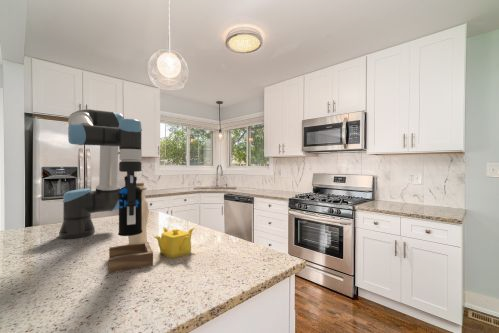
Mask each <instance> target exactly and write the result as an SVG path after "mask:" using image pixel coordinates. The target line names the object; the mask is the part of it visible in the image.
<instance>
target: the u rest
mask: <svg viewBox="0 0 499 333" xmlns="http://www.w3.org/2000/svg"><path fill="white" fill-rule="evenodd" d="M108 249H109V252H108V253H109V255H108V257H109V258H108V274H113V273H117V272H123V271H129V270H134V269H139V268H144V267H149V266H154V251H153V250H152V247H151V245H150V242H149V241H147V242H144V243H137V244H130V245H129V244H123V245H117V246H110V247H109V248H108Z"/></svg>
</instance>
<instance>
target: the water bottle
mask: <svg viewBox="0 0 499 333" xmlns="http://www.w3.org/2000/svg"><path fill="white" fill-rule="evenodd" d="M136 186H137V187H139V188H140V189H141V190H142V233H140V234H137V235H133V236H127V237H128V245H130V244H137V243H144V242H148V236H147V234H148V232H147V225H148V220H149V214H150V213H149V212H150V209H149V208H150V207H149V203H148V201H147V199H146V190H147V189H148V188H147V187H146V186H145V183H144V182H136Z"/></svg>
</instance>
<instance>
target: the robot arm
mask: <svg viewBox="0 0 499 333" xmlns="http://www.w3.org/2000/svg"><path fill="white" fill-rule="evenodd" d="M67 122H68V128H67V129H68V131H67V134H68V136H67V137H68V143H69V144H71V145H78V146H99V171H98V172H99V174H98V176H99V180H98V181H99V182H98V185H96V187H95V190H92V189H91V188H79V189H74V190H73V189H72V190H69V191H66V192H65V193H64V194H63V198H62V200H63V201H62V204H63V205H62V206H63V209H62V210H63V214H62V218H63V222H62V224H61V227H60V230H59V231H58V238H60V239H66V240H67V239H70V240H71V239H78V238H84V237H85V238H86V237H88V236H92V235H94V234H95V232H96V229H95V226H94V223H93V220H92V214H93V213H103V212H113V211H119V193H118V191H120V189H121V186H120V185H119V184H118V171H119V172H121V173H122V172H123V173H126V176H124V187H125V186H126V188H127V199H128V203H127V204H126V205H125V207H127V225H131V224H136V206H135V205H136V183H137V180H138V178H137V176H136V175H135V173H137V172H141V171H142V162H141V161H142V160H143V159H142V156H143V154H142V151H143V150H142V131H143V128H142V122H141V121H140V120H138V119H134V118H125V117H124V116H123V114H122V113H119V112H114V111H106V110H105V111H104V110H98V109H97V110H96V109H89V108H87V109H79V110H76V111H74V112H72V113H70V114H69V116H68V118H67ZM118 169H119V170H118Z"/></svg>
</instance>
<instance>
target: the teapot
mask: <svg viewBox="0 0 499 333" xmlns="http://www.w3.org/2000/svg"><path fill="white" fill-rule="evenodd" d="M195 229H196V228H195V227H192V228H190V229H189V230H188V232H187V231H184V230H181V229H178V228H173V229H172V230H168V228H166V227H163V231H164V232H161V235H160V236H159V235H155V236H153V238H154V239H156V240H157V244H158V247H159V250H160V251H159V252H160V253H161V254H162V255H163V254H164V256H165V257H167V256H168V258H169V257H170V259H176V258H179V256H180V257H183V256H186V255H188V253H189V254H191V251H192V235H193V234H192V233H193V231H194V230H195ZM185 254H186V255H185ZM182 255H183V256H182Z"/></svg>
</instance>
